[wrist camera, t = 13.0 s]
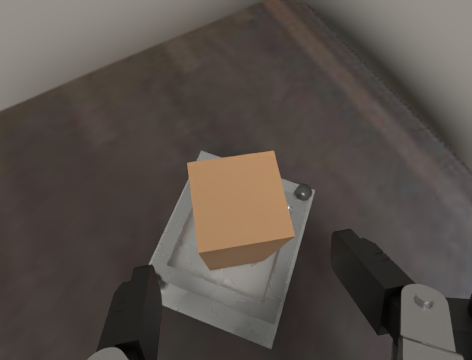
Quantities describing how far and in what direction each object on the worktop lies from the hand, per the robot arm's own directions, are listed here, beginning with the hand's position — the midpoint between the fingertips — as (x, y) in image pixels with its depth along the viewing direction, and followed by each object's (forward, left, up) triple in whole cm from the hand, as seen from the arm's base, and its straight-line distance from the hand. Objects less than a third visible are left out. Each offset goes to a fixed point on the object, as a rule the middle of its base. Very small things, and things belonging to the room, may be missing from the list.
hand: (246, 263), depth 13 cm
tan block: (+2, +1, -9) cm, 9 cm away
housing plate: (+2, +1, -9) cm, 10 cm away
